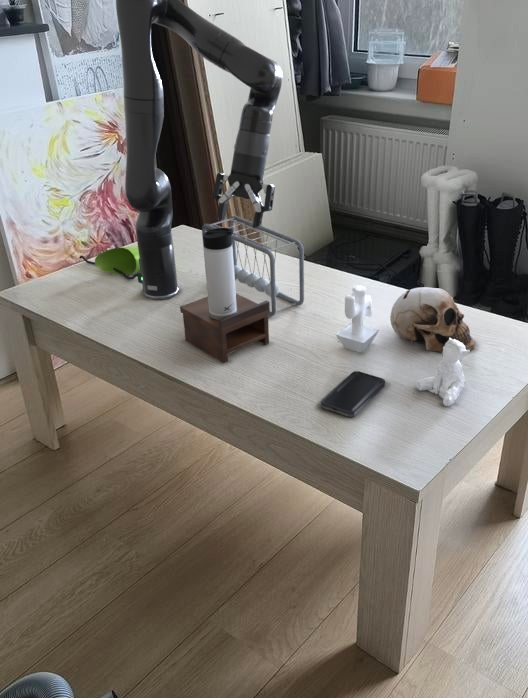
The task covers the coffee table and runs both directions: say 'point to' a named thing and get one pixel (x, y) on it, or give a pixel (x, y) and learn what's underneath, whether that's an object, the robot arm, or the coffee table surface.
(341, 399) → the phone
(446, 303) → the coin bank
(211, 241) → the travel mug
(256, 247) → the newton's cradle
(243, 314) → the brown wooden stand
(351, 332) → the figurine
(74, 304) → the coffee table surface
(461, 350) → the white creature statuette
